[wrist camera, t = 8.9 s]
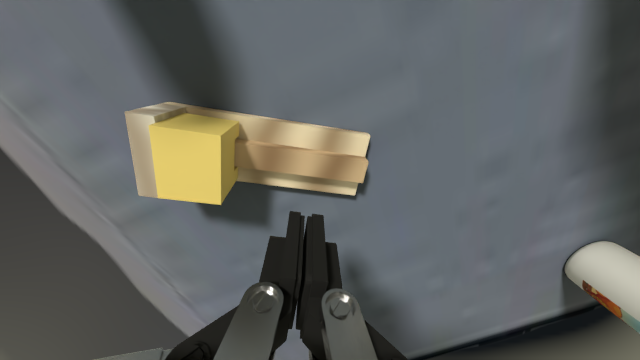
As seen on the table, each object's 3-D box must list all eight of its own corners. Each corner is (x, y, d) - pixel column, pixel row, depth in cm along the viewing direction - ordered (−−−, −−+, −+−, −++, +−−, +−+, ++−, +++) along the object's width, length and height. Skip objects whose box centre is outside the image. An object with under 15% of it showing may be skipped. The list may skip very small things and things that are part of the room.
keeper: (239, 121, 22) (220, 135, 18) (237, 178, 25) (220, 204, 20) (184, 112, 22) (148, 125, 17) (187, 171, 24) (157, 197, 19)
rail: (367, 133, 25) (385, 150, 20) (353, 190, 28) (365, 220, 22) (169, 101, 23) (124, 111, 17) (175, 168, 26) (138, 195, 20)
